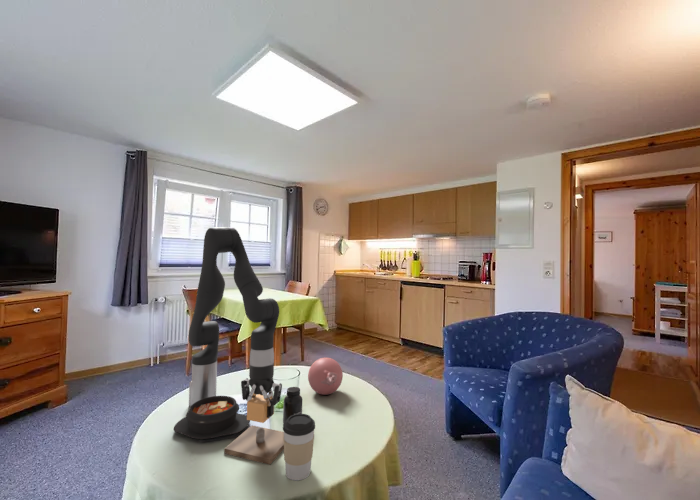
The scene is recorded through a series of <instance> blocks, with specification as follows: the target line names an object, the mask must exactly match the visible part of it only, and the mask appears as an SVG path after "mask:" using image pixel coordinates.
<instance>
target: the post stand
mask: <svg viewBox="0 0 700 500" xmlns="http://www.w3.org/2000/svg"><path fill="white" fill-rule="evenodd" d="M283 436H284V431H283V430H282V431H281V430H275V429H271V428H266V427H263V426H257V425H253V424H251V425H250V426H249V427H248V428H247V429H246V430H245V431H244V430H243V432H242V433H241V434H240V435H238V437H236V438H235V439H234V440H233V441H231V442H230V443H229V444H228V445H226V446H225V447H224V448H223V449H224V450H223V452H224V453H223V454H224V455H225V454H226V455H228V456H229V455H230V456H234V457H238V458H242V459H245V460H249V461H252V462H258V463H260V464H266V465H270V466H271V464H272V463H273V462H274V461H275V460H276V459H277V458H278V456H279V455H280V454H281V453H282V452H284V440H283Z"/></svg>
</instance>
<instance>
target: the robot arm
mask: <svg viewBox="0 0 700 500" xmlns="http://www.w3.org/2000/svg"><path fill="white" fill-rule="evenodd" d="M243 242H244V241H243V240H242V238H241V235H240V233H239V231H238V230H237V229H236V228H235V227H231V226H218V227H217V226H215V227H209V228H207V230H206V231H205V234H204V237H203V250H202V253H203V254H202V263H201V270H200V277H199V280H198V281H199V282H198V284H197V285H198V286H197V292H196V298H195V304H194V305H195V306H194V310H193V315H192V317H191V318H192V319H191V322H190V324H189V330H188V343H189V345H190V346H192V347H203V346H206V347H205V348H203V349H202V350H200V351H198V352H197V353H195V354H194V355H193V356H192V359H191V360H192V361H191V363H192V364H191V381H189V383H188V384H189V386H188V387H189V388H188V392H189V393H188V407H191V406H192V404H194V403H195V402H197V401H199V400H201V399H204V398H208V397H213V396H217V383H218V382H217V381H218V380H217V378H218V377H217V376H218V356H219V342H220V340H219V339H220V325H219V323H218V322H217V321H216V320H209V321H205V320H206V318H207V317H208V315H209V314H210V313H212V311H213V310H214V309H215V308H217V306H218V305H219V304H220V303H221V301H222V300H223V297H224V292H225V288H226V281H225V278H224V276H223V274H222V273H221V271H220V270H219V267H218V264H217V261H218V255H219V254H223V253H231V255H233V257H234V259H235V261H234V262H235V264H234V269H233V280H234V283H235V285H236V287H237V289H238V291H239V293H240V295H241V297H242V301H243V307H244V312H245V315H246V317H247V319H248V320H249V321H250V322H252V323H260V324H259V326H258V327H257V328H255V329H253V330H252V332H251V334H250V351H249V369H248V370H249V372H248V373H249V374H248V376H249V378H247V377H246V378H244V379H243V380H241V381H240V389H241V397H242V400H243V401H246V403H247V402H248V401H249V400H251V399H252V398H254V397H256V395H258V394H260V395H263V397H264V399H265V400H266V402H267V405H268V406H267V418H269V419H270V418H271V417H272V416H273V415H274V414H275V406H276V405H277V404H278V403H280V401H281V395H282V389H283V383H281V382H280V383H276V382H275V381H274V374H275V373H274V372H275V370H274V369H275V364H274V363H275V352H274V351H275V350H274V335H275V331H276V328H277V323H278V320H279V317H280V316H279V315H280V306H279V303H278V301H276V300H275V298H269V297H268V298H264V299H263V298H262V299H259V298H258V297H259V296H261V295H262V293H263V292H264V287H263V286H262V283H261V282H260V279H259V278H258V276H257V274H256V273H255V272H254V269H253V267H252V265H251V263H250V260H249V256H248V254H247V251H246V248H245V246H244V243H243ZM250 388H251V390H250ZM273 413H274V414H273Z"/></svg>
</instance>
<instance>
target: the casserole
mask: <svg viewBox="0 0 700 500" xmlns="http://www.w3.org/2000/svg"><path fill="white" fill-rule="evenodd" d="M239 410H240V406H239V404H238V402H237V400H236V399H235V398H234V397H232V396H228V395H216V396H213V397H208V398H204V399H201V400H199V401H197V402H195V403H194V404H192V406H189V409H188V411H187V412H186V414H185V416H184V417H183V418H181V419H180V420H178V422H177V423H175V424H174V426H173V431H174V432H175V433H178V434H181V435H183V436H186V437H188V438H190V439H197V440H208V439H214V438H218V437H219V438H220V437H223V436H230V435H235V434H238V433H239V434H240V432H242V431H244V430H245V429H246V428H247V427H248V426H249V425H250V422H251V420H247V414H243V413H242V414H241V413H238V412H239Z"/></svg>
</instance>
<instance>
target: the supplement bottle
mask: <svg viewBox="0 0 700 500" xmlns="http://www.w3.org/2000/svg"><path fill="white" fill-rule="evenodd" d="M282 405H283V407H282V408H283V410H282V423H284V422H285V421H286V420H287V419H288V418H289V417H290V416H292V415H295V414H303V397H302V395H301V388H300V387H298V386H291V387H288V388H287V389H286V396H285V397H284V398H283V404H282Z"/></svg>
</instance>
